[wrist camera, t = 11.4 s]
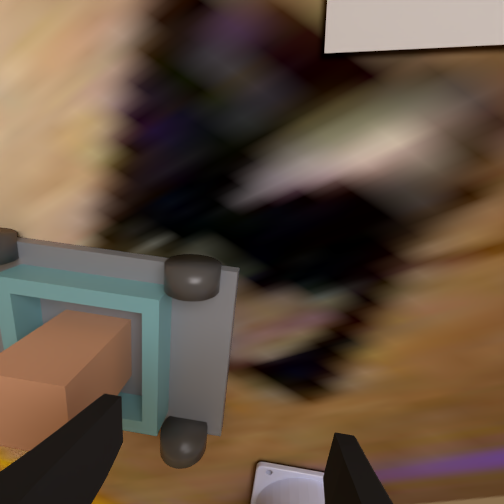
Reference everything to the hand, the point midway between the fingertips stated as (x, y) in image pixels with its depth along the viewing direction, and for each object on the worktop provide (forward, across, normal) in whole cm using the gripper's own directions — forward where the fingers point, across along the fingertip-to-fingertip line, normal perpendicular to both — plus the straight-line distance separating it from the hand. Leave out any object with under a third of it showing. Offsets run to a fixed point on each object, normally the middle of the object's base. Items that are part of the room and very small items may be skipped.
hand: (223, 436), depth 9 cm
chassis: (+9, +10, +4) cm, 14 cm away
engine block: (+9, +10, +4) cm, 14 cm away
